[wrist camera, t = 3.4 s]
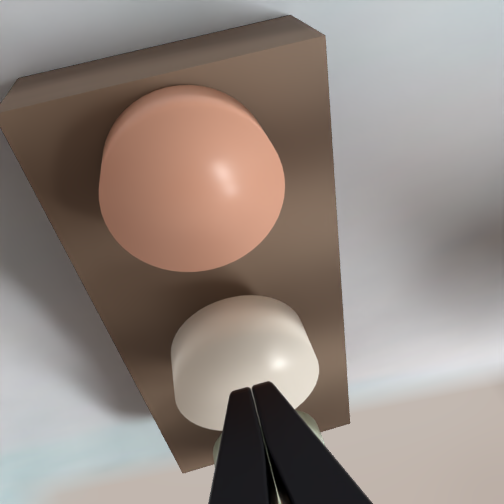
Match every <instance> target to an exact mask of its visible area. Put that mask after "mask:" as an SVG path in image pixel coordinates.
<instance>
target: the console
mask: <svg viewBox="0 0 504 504" xmlns="http://www.w3.org/2000/svg"><path fill="white" fill-rule="evenodd" d="M176 85H197V86H204V87H208V88H213V89H216V90H218V91H221V92H223V93H225V94H227V95H229V96H231V97H233V98H235V99H236V100H237V101H239V102H240V103H241V104H243V105H244V106H245V107H246V108H247V109H248V110H249V111H250V112H251V113H252V115H253V116H254V117H255V119H256V120H257V121H258V123H259V124H260V126H261V127H262V129H263V131H264V132H265V134H266V135H267V137H268V139H269V140H270V142H271V143H272V145H273V147H274V148H275V150H276V152H277V154H278V156H279V158H280V161H281V164H282V167H283V172H284V178H285V194H284V200H283V205H282V208H281V211H280V214H279V217H278V219H277V220H276V222H275V224H274V226H273V228H272V229H271V231H270V232H269V233H268V235H267V236H266V237H265V238H264V239H263V241H262V242H261V243H260V244H259V245H257V246H256V247H255V248H254V249H253V250H252V251H250V252H249V253H247V254H246V255H245V256H243V257H241V258H239V259H238V260H236V261H234V262H232V263H229V264H227V265H225V266H222V267H218V268H215V269H211V270H206V271H198V272H178V271H170V270H166V269H161V268H158V267H155V266H152V265H150V264H147V263H145V262H143V261H141V260H139V259H138V258H136V257H134V256H133V255H131V254H130V253H129V252H128V251H126V250H125V249H124V248H123V247H122V246H121V245H120V244H119V243H118V242H117V241H116V240H115V238H114V237H113V235H112V234H111V233H110V231H109V229H108V227H107V225H106V224H105V221H104V219H103V216H102V213H101V209H100V204H99V182H100V173H101V164H102V155H103V148H104V145H105V141H106V138H107V136H108V134H109V131H110V129H111V127H112V126H113V124H114V123H115V121H116V119H117V118H118V117H119V116H120V115H121V114H122V112H123V111H124V110H125V109H126V108H128V107H129V106H130V105H131V104H132V103H133V102H135V101H136V100H138V99H139V98H141V97H143V96H144V95H147V94H149V93H151V92H153V91H155V90H159V89H162V88H165V87H170V86H176ZM0 128H1V130H2V132H3V133H4V135H5V137H6V139H7V141H8V143H9V145H10V147H11V149H12V151H13V152H14V154H15V156H16V158H17V160H18V162H19V164H20V166H21V168H22V170H23V171H24V173H25V175H26V177H27V179H28V181H29V183H30V185H31V187H32V188H33V190H34V192H35V194H36V196H37V198H38V200H39V202H40V204H41V206H42V207H43V209H44V211H45V213H46V215H47V217H48V219H49V221H50V223H51V224H52V226H53V228H54V230H55V232H56V234H57V236H58V238H59V240H60V242H61V243H62V245H63V247H64V249H65V251H66V253H67V255H68V257H69V259H70V261H71V262H72V264H73V266H74V268H75V270H76V272H77V274H78V276H79V278H80V279H81V281H82V283H83V285H84V287H85V289H86V291H87V293H88V295H89V297H90V298H91V300H92V302H93V304H94V306H95V308H96V310H97V312H98V314H99V315H100V317H101V319H102V321H103V323H104V325H105V327H106V329H107V331H108V333H109V334H110V336H111V338H112V340H113V342H114V344H115V346H116V348H117V350H118V352H119V353H120V355H121V357H122V359H123V361H124V363H125V365H126V367H127V369H128V370H129V372H130V374H131V376H132V378H133V380H134V382H135V384H136V386H137V388H138V389H139V391H140V393H141V395H142V397H143V399H144V401H145V403H146V405H147V406H148V408H149V410H150V412H151V414H152V416H153V418H154V420H155V422H156V424H157V425H158V427H159V429H160V431H161V433H162V435H163V437H164V439H165V441H166V443H167V444H168V446H169V448H170V450H171V452H172V454H173V456H174V458H175V460H176V461H177V463H178V465H179V467H180V469H181V471H182V473H186V472H190V471H193V470H196V469H200V468H203V467H206V466H210V465H213V464H214V458H213V448H214V445H215V442H216V441H217V439H218V438H219V436H220V435H221V434H222V431H218V430H212V429H207V428H204V427H201V426H199V425H196V424H194V423H192V422H191V421H189V420H188V419H187V418H185V417H184V416H183V414H182V413H181V412H180V411H179V409H178V407H177V404H176V401H175V393H174V383H173V372H172V362H171V346H172V342H173V339H174V337H175V335H176V333H177V331H178V330H179V328H180V327H181V326H182V325H183V324H184V322H185V321H186V320H187V319H188V318H190V317H191V316H192V315H193V314H195V313H196V312H197V311H199V310H200V309H202V308H204V307H206V306H207V305H210V304H212V303H214V302H217V301H220V300H223V299H226V298H230V297H235V296H243V295H257V296H265V297H270V298H273V299H276V300H279V301H281V302H283V303H285V304H286V305H288V306H289V307H291V308H292V309H293V310H294V311H295V312H296V313H297V315H298V316H299V318H300V320H301V322H302V325H303V327H304V329H305V332H306V334H307V336H308V339H309V341H310V343H311V346H312V348H313V350H314V353H315V355H316V357H317V360H318V364H319V375H318V380H317V382H316V385H315V387H314V389H313V391H312V392H311V393H310V395H309V396H308V397H307V398H306V400H305V401H304V402H303V403H302V404H300V405H299V406H298V407H297V408H296V409H295V410H298V411H301V412H304V413H306V414H308V415H310V416H311V417H312V418H313V419H314V420H315V421H316V423H317V425H318V428H319V430H320V432H323V431H326V430H330V429H333V428H336V427H340V426H343V425H346V424H350V414H349V398H348V383H347V367H346V351H345V336H344V320H343V304H342V289H341V273H340V257H339V242H338V226H337V210H336V195H335V179H334V163H333V148H332V132H331V116H330V101H329V85H328V69H327V54H326V38H325V35H324V34H322V33H320V32H319V31H317V30H315V29H314V28H312V27H310V26H309V25H307V24H305V23H303V22H302V21H300V20H298V19H297V18H295V17H293V16H292V15H289V16H284V17H280V18H276V19H271V20H267V21H263V22H258V23H254V24H250V25H246V26H241V27H237V28H233V29H228V30H224V31H220V32H215V33H211V34H207V35H202V36H198V37H194V38H190V39H185V40H181V41H177V42H172V43H168V44H164V45H159V46H155V47H151V48H147V49H142V50H138V51H134V52H129V53H125V54H121V55H116V56H112V57H108V58H103V59H99V60H95V61H91V62H86V63H82V64H78V65H73V66H69V67H65V68H60V69H56V70H52V71H48V72H43V73H39V74H35V75H30V76H26V77H22V78H18V79H17V81H16V82H15V84H14V85H13V87H12V88H11V90H10V91H9V92H8V94H7V95H6V97H5V98H4V100H3V101H2V102H1V104H0Z"/></svg>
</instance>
